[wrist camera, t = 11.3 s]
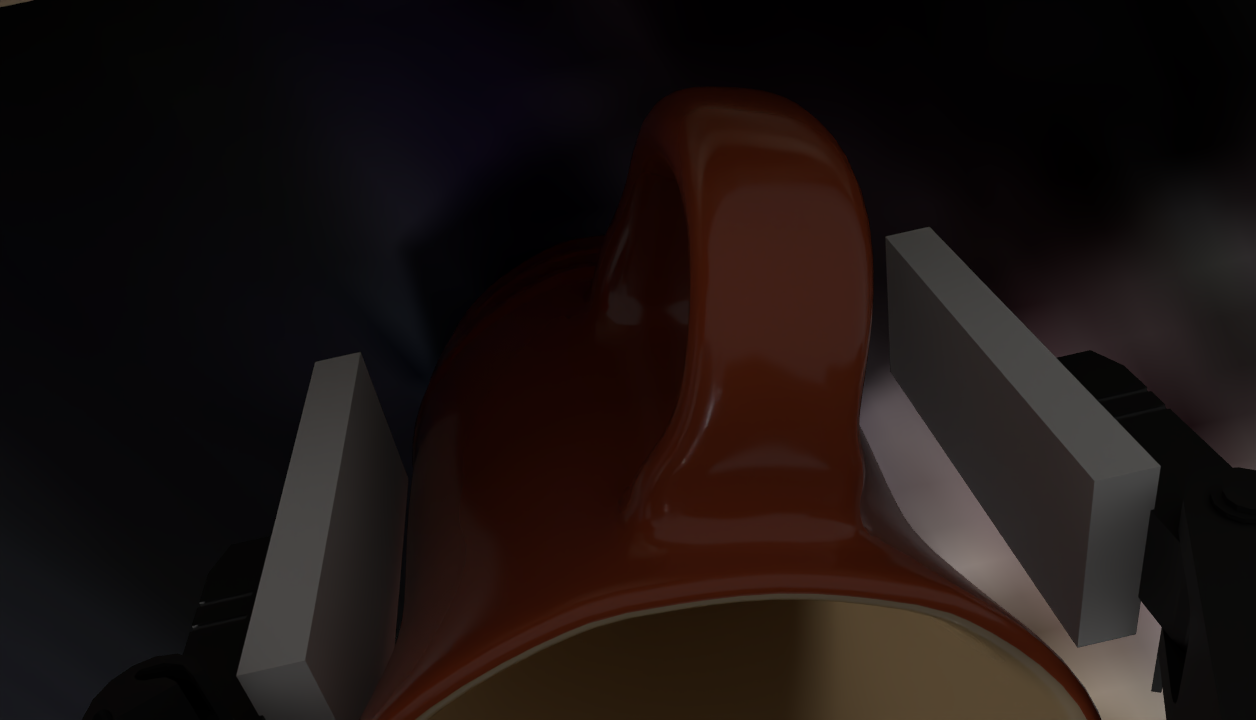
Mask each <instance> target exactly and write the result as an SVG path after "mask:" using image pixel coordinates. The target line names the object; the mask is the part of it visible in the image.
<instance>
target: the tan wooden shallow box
mask: <svg viewBox="0 0 1256 720" xmlns="http://www.w3.org/2000/svg"><path fill="white" fill-rule="evenodd" d="M28 1H32V0H0V7H4V6H9V5H13V4H18V3H23V2H28Z"/></svg>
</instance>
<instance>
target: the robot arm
mask: <svg viewBox="0 0 1256 720" xmlns="http://www.w3.org/2000/svg"><path fill="white" fill-rule="evenodd" d="M885 242H886V269H887V296H888V323H889V349H890V372H891V373H892V375H893V376H894V378H895V379H896V381H897V382H898V384H899V385H900V386H901V388H902V389H903V391H904V392H905V394H906V395H907V397H908V398H909V400H910V401H911V403H912V404H913V406H914V407H915V409H916V410H917V412H918V413H919V415H920V416H921V417H922V419H923V420H924V422H925V423H926V425H927V426H928V428H929V429H930V431H931V432H932V434H933V435H934V437H935V438H936V440H937V441H938V443H939V444H940V446H941V447H942V448H943V450H944V451H945V453H946V454H947V456H948V457H949V459H950V460H951V462H952V463H953V465H954V466H955V468H956V469H957V471H958V472H959V474H960V475H961V476H962V478H963V479H964V481H965V482H966V484H967V485H968V487H969V488H970V490H971V491H972V493H973V494H974V496H975V497H976V499H977V500H978V502H979V503H980V505H981V506H982V507H983V509H984V510H985V512H986V513H987V515H988V516H989V518H990V519H991V521H992V522H993V524H994V525H995V527H996V528H997V530H998V531H999V533H1000V534H1001V535H1002V537H1003V538H1004V540H1005V541H1006V543H1007V544H1008V546H1009V547H1010V549H1011V550H1012V552H1013V553H1014V555H1015V556H1016V558H1017V559H1018V561H1019V562H1020V564H1021V565H1022V566H1023V568H1024V569H1025V571H1026V572H1027V574H1028V575H1029V577H1030V578H1031V580H1032V581H1033V583H1034V584H1035V586H1036V587H1037V589H1038V590H1039V592H1040V593H1041V594H1042V596H1043V597H1044V599H1045V600H1046V602H1047V603H1048V605H1049V606H1050V608H1051V609H1052V611H1053V612H1054V614H1055V615H1056V617H1057V618H1058V620H1059V621H1060V623H1061V624H1062V625H1063V627H1064V628H1065V630H1066V631H1067V633H1068V634H1069V636H1070V637H1071V639H1072V640H1073V642H1074V643H1075V645H1076V646H1077V648H1078V647H1083V646H1087V645H1091V644H1096V643H1100V642H1104V641H1109V640H1113V639H1117V638H1121V637H1126V636H1130V635H1134V634H1136V630H1137V623H1138V617H1139V610H1140V603H1141V601H1142V603H1143V604H1144V605H1145V606H1146V608H1147V609H1148V610H1149V612H1150V613H1151V614H1152V615H1153V617H1154V618H1155V619H1156V620H1157V622H1158V623H1159V624H1160V625H1161V627H1162V629H1161V635H1160V641H1159V647H1158V653H1157V659H1156V665H1155V672H1154V678H1153V684H1152V690H1151V691H1153V692H1160V693H1161V691H1162V687H1163V695H1164V703H1165V712H1166V720H1256V470H1251V469H1245V468H1239V467H1238V468H1232V467H1231V466H1230V465H1229V464H1228V463H1227V462H1226V461H1225V460H1224V459H1223V458H1222V457H1221V456H1220V455H1218V454H1217V453H1216V452H1215V451H1214V450H1213V449H1212V448H1211V447H1210V446H1209V445H1208V444H1207V443H1206V442H1205V441H1204V440H1202V439H1201V438H1200V437H1199V436H1198V435H1197V434H1196V433H1195V432H1194V431H1193V430H1192V429H1191V428H1190V427H1189V426H1188V425H1187V424H1185V423H1184V422H1183V421H1182V420H1181V419H1180V418H1179V417H1178V416H1177V415H1176V414H1175V413H1174V412H1173V411H1172V410H1171V409H1166V407H1165V404H1164V403H1163V402H1162V401H1161V400H1160V399H1159V398H1158V397H1157V396H1156V395H1155V394H1154V393H1153V392H1151V391H1150V392H1148V391H1147V387H1146V386H1145V385H1144V384H1143V383H1142V382H1141V381H1140V380H1139V379H1138V378H1137V377H1135V376H1134V375H1133V374H1132V373H1131V372H1130V371H1129V370H1128V369H1127V368H1126V367H1125V366H1123V365H1121V364H1119V363H1117V362H1115V361H1113V360H1110V359H1108V358H1106V357H1104V356H1102V355H1100V354H1097V353H1095V352H1093V351H1091V350H1089V351H1085V352H1081V353H1076V354H1072V355H1067V356H1063V357H1058V358H1056V357H1055V356H1054V355H1053V354H1052V353H1051V352H1050V351H1049V350H1048V349H1047V348H1046V347H1045V346H1044V345H1043V344H1042V343H1041V342H1040V341H1039V340H1038V339H1037V338H1036V337H1035V336H1034V335H1033V333H1032V332H1031V331H1030V330H1029V329H1028V328H1027V327H1026V326H1025V325H1024V324H1023V323H1022V322H1021V321H1020V320H1019V319H1018V318H1017V317H1016V316H1015V315H1014V314H1013V313H1012V312H1011V311H1010V310H1009V309H1008V308H1007V307H1006V306H1005V304H1004V303H1003V302H1002V301H1001V300H1000V299H999V298H998V297H997V296H996V295H995V294H994V293H993V292H992V291H991V290H990V289H989V288H988V287H987V286H986V285H985V284H984V283H983V282H982V281H981V280H980V279H979V278H978V277H977V275H976V274H975V273H974V272H973V271H972V270H971V269H970V268H969V267H968V266H967V265H966V264H965V263H964V262H963V261H962V260H961V259H960V258H959V257H958V256H957V255H956V254H955V253H954V252H953V251H952V250H951V249H950V248H949V246H948V245H947V244H946V243H945V242H944V241H943V240H942V239H941V238H940V237H939V236H938V235H937V234H936V233H935V232H934V231H933V230H932V229H931V228H930V227H926V228H922V229H917V230H913V231H908V232H903V233H899V234H894V235H890V236H885ZM407 491H408V476H407V474H406V471H405V469H404V466H403V463H402V461H401V458H400V455H399V453H398V450H397V447H396V445H395V442H394V439H393V437H392V434H391V431H390V429H389V426H388V423H387V421H386V418H385V415H384V413H383V410H382V407H381V405H380V402H379V399H378V397H377V394H376V392H375V389H374V386H373V384H372V381H371V378H370V376H369V373H368V370H367V368H366V365H365V362H364V360H363V357H362V354H361V352H358V353H353V354H349V355H344V356H340V357H335V358H331V359H326V360H321V361H317V362H315V365H314V369H313V373H312V377H311V381H310V384H309V388H308V392H307V396H306V400H305V404H304V408H303V412H302V416H301V420H300V424H299V428H298V432H297V436H296V440H295V444H294V448H293V452H292V456H291V460H290V464H289V468H288V472H287V476H286V480H285V484H284V488H283V492H282V496H281V500H280V504H279V508H278V512H277V516H276V520H275V524H274V528H273V532H272V536H269V537H265V538H260V539H256V540H251V541H247V542H242V543H238V544H233V545H231V546H230V547H229V548H228V549H227V551H226V552H225V553H224V555H223V556H222V557H221V558H220V560H219V561H218V562H217V564H216V565H215V566H214V567H213V569H212V570H211V571H210V572H209V574H208V577H207V580H206V583H205V586H204V590H203V593H202V596H201V599H200V602H199V603H200V608H198V609H197V612H196V615H195V618H194V621H193V624H192V628H193V632H190V634H189V637H188V640H187V643H186V647H185V650H184V653H183V655H180V654H172V655H164V656H157V657H154V658H151V659H149V660H146V661H144V662H141V663H139V664H137V665H134V666H132V667H131V668H129V669H128V670H126V671H125V672H123V673H122V674H120V675H119V676H117V677H116V678H114V679H113V680H111V681H110V682H109V683H108V684H107V685H106V686H105V687H104V689H103V690H102V691H101V692H100V693H99V694H98V695H97V696H96V697H95V698H94V699H93V700H92V702H91V704H90V706H89V708H88V710H87V712H86V713H85V715H84V717H83V719H82V720H359V718H360V717H361V715H362V713H363V711H364V709H365V707H366V705H367V703H368V702H369V700H370V698H371V696H372V694H373V692H374V690H375V688H376V686H377V684H378V682H379V680H380V678H381V676H382V674H383V672H384V670H385V668H386V666H387V664H388V662H389V659H390V657H391V655H392V652H393V650H394V647H395V635H396V623H397V611H398V599H399V587H400V575H401V563H402V551H403V539H404V527H405V515H406V503H407Z"/></svg>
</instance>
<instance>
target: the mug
mask: <svg viewBox="0 0 1256 720" xmlns="http://www.w3.org/2000/svg"><path fill="white" fill-rule="evenodd" d="M873 290H874V286H873V252H872V243H871V234H870V225H869V219H868V215H867V211H866V207H865V203H864V199H863V195H862V191H861V189H860V187H859V184H858V182H857V180H856V178H855V175H854V173H853V171H852V168H851V166H850V164H849V162H848V159H847V157H846V155H845V154H844V152H843V151H842V149H841V148H840V146H839V144H838V143H837V141H836V140H835V138H834V137H833V135H832V134H831V133H830V132H829V131H828V130H827V129H826V128H825V127H824V126H823V125H822V124H821V123H820V122H819V121H818V120H817V119H816V118H815V117H813V116H812V115H811V114H810V113H809V112H807V111H806V110H805V109H803V108H802V107H801V106H799V105H798V104H797V103H795V102H793V101H791V100H789V99H787V98H785V97H782V96H780V95H777V94H774V93H771V92H767V91H763V90H756V89H749V88H737V87H714V86H711V87H693V88H687V89H682V90H678V91H674V92H672V93H671V94H669V95H667V96H666V97H664V98H662V99H661V100H659V101H658V102H657V103H656V104H655V106H654V107H653V108H652V110H651V111H650V112H649V114H648V115H647V116H646V118H645V120H644V122H643V124H642V126H641V129H640V131H639V134H638V137H637V141H636V144H635V147H634V151H633V154H632V158H631V163H630V167H629V172H628V176H627V180H626V184H625V188H624V191H623V194H622V197H621V200H620V202H619V205H618V207H617V209H616V212H615V214H614V217H613V219H612V221H611V223H610V226H609V228H608V230H607V233H606V235H599V236H592V237H585V238H579V239H573V240H569V241H566V242H562V243H559V244H556V245H554V246H552V247H550V248H548V249H546V250H544V251H542V252H540V253H538V254H536V255H534V256H533V257H531V258H529V259H528V260H526V261H524V262H523V263H521V264H520V265H518V266H517V267H515V268H514V269H512V270H511V271H509V272H508V273H506V274H505V275H504V276H502V277H501V278H500V279H499V280H497V281H496V282H495V283H494V284H492V285H491V286H490V287H489V288H488V289H487V290H486V291H485V292H484V293H483V294H482V295H481V296H480V297H479V298H478V299H477V300H476V301H475V302H474V304H473V305H472V306H471V307H470V308H469V309H468V311H467V312H466V313H465V315H464V316H463V318H462V319H461V321H460V322H459V324H458V325H457V327H456V329H455V330H454V332H453V334H452V336H451V338H450V340H449V341H448V343H447V344H446V346H445V348H444V350H443V352H442V354H441V355H440V357H439V359H438V361H437V364H436V366H435V369H434V371H433V373H432V376H431V379H430V383H429V385H428V387H427V390H426V392H425V395H424V397H423V400H422V402H421V405H420V408H419V412H418V415H417V419H416V423H415V430H414V436H413V450H412V464H413V475H412V484H411V493H410V502H409V513H408V526H407V549H406V581H405V598H404V610H403V618H402V623H401V627H400V631H399V636H398V638H397V641H396V644H395V647H394V650H393V652H392V655H391V657H390V659H389V662H388V664H387V666H386V668H385V670H384V672H383V674H382V676H381V678H380V680H379V682H378V684H377V686H376V688H375V690H374V692H373V694H372V696H371V698H370V700H369V702H368V703H367V705H366V707H365V709H364V711H363V713H362V715H361V717H360V718H359V720H1101V717H1100V715H1099V712H1098V710H1097V708H1096V706H1095V705H1094V703H1093V701H1092V699H1091V697H1090V696H1089V694H1088V692H1087V690H1086V689H1085V687H1084V686H1083V685H1082V683H1081V682H1080V681H1079V680H1078V678H1077V677H1076V676H1075V675H1074V673H1073V672H1072V671H1071V670H1070V668H1069V667H1068V666H1067V665H1066V663H1065V662H1064V661H1063V660H1062V659H1061V658H1060V657H1059V656H1058V655H1057V654H1056V653H1055V652H1054V651H1053V650H1052V649H1051V648H1050V647H1049V646H1048V645H1046V644H1045V643H1044V642H1043V641H1042V640H1041V639H1040V638H1039V637H1038V636H1037V635H1036V634H1035V633H1033V632H1032V631H1031V630H1030V629H1029V628H1028V627H1026V626H1025V625H1024V624H1023V623H1021V622H1020V621H1019V620H1018V619H1016V618H1015V617H1014V616H1012V615H1011V614H1010V613H1009V612H1007V611H1006V610H1005V609H1003V608H1002V607H1001V606H1000V605H998V604H997V603H996V602H995V601H993V600H992V599H991V598H990V597H988V596H987V595H986V594H985V593H983V592H982V591H981V590H980V589H978V588H977V587H976V586H975V585H973V584H972V583H971V582H970V581H968V580H967V579H966V578H965V577H964V576H962V575H961V574H960V573H959V572H958V571H956V570H955V569H954V568H953V567H952V566H951V565H949V564H948V563H947V562H946V561H945V560H943V559H942V558H941V557H940V556H939V555H938V554H937V553H935V552H934V551H933V550H932V549H931V548H930V547H929V546H928V545H927V544H926V543H925V542H924V541H923V540H922V539H921V538H920V537H919V535H918V534H917V533H916V532H915V531H914V530H913V529H912V527H911V526H910V524H909V523H908V522H907V520H906V519H905V518H904V516H903V514H902V512H901V511H900V509H899V507H898V505H897V503H896V501H895V499H894V497H893V495H892V493H891V491H890V489H889V487H888V485H887V483H886V481H885V478H884V476H883V474H882V472H881V470H880V467H879V465H878V463H877V461H876V459H875V456H874V454H873V452H872V450H871V448H870V446H869V443H868V441H867V439H866V437H865V435H864V433H863V431H862V429H861V427H860V425H859V416H860V407H861V398H862V392H863V385H864V379H865V372H866V365H867V359H868V352H869V343H870V334H871V325H872V310H873Z"/></svg>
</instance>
